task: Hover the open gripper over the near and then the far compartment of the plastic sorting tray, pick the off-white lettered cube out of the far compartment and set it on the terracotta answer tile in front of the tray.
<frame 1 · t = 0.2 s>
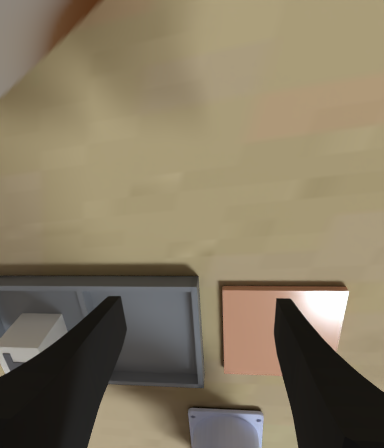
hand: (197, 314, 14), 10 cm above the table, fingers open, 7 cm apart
letter cube: (47, 329, 29), resting on sorting tray
answer tile: (279, 331, 27), on the table
sorting tray: (98, 327, 28), on the table
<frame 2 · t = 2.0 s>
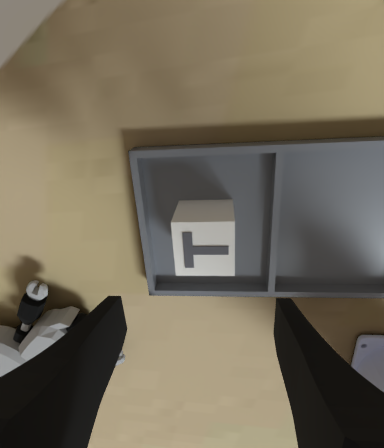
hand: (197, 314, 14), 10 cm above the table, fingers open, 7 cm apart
letter cube: (206, 224, 23), resting on sorting tray
robot toy: (48, 336, 31), on the table
sorting tray: (272, 221, 23), on the table
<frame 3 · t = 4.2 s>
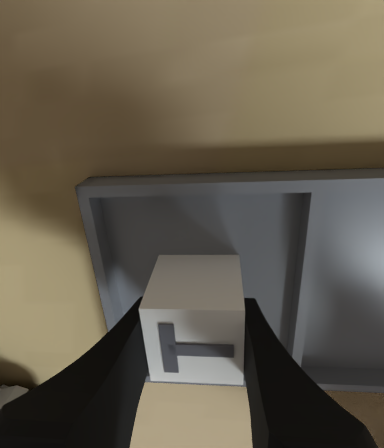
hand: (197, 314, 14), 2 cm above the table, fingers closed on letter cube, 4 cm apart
letter cube: (200, 287, 15), resting on sorting tray, touching gripper
sorting tray: (296, 284, 15), on the table
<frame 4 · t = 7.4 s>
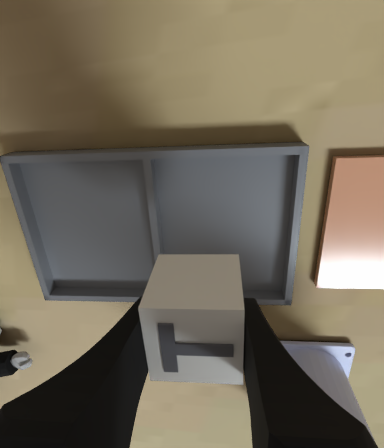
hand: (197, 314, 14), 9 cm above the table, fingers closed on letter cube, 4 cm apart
letter cube: (199, 287, 15), point 7 cm above the table, touching gripper
sorting tray: (159, 227, 22), on the table
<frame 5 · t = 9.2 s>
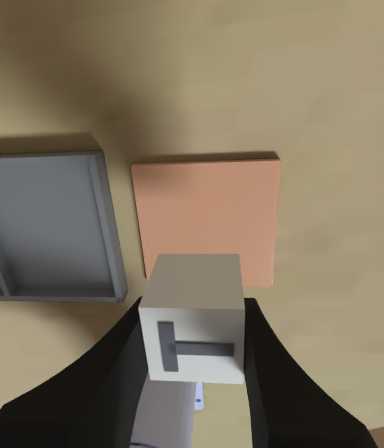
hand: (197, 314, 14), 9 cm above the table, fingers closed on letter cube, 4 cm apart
letter cube: (200, 286, 15), point 7 cm above the table, touching gripper
answer tile: (206, 227, 22), on the table
when the fingers open (4 cm above the table, at t = 10.8 s): letter cube drops 2 cm, resting on answer tile.
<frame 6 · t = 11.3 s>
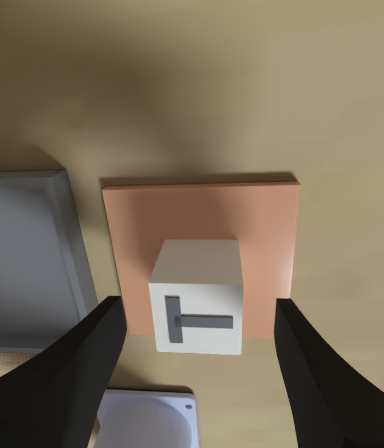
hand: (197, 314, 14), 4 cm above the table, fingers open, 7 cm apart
letter cube: (202, 270, 17), point 1 cm above the table, touching answer tile
answer tile: (202, 265, 17), on the table
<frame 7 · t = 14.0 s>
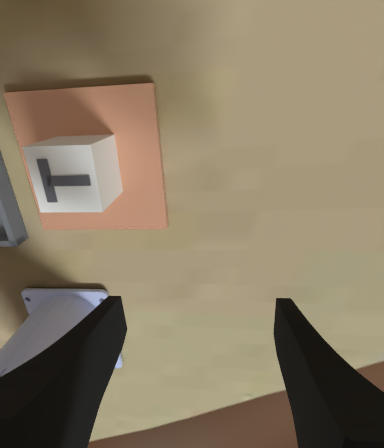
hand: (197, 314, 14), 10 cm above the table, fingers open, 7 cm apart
letter cube: (91, 164, 21), point 1 cm above the table, touching answer tile
answer tile: (94, 163, 21), on the table
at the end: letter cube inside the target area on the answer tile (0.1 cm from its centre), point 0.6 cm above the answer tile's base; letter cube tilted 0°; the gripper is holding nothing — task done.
